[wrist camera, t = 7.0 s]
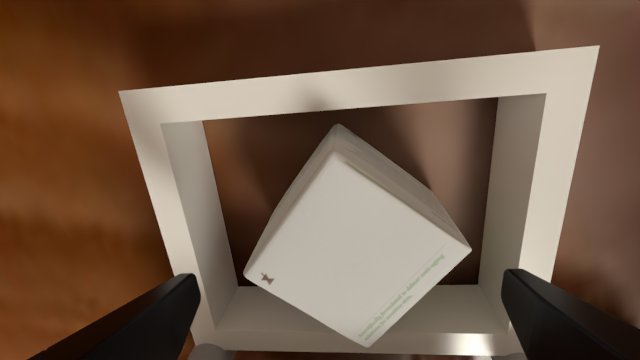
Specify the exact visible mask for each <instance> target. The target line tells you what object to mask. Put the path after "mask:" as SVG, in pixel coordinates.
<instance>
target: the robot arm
mask: <svg viewBox="0 0 640 360" xmlns="http://www.w3.org/2000/svg"><path fill="white" fill-rule="evenodd" d="M501 300H502V303H503V305H504V308H505V310H506V312H507V314H508V317H509V319H510V321H511V324H512V326H513V328H514V331H515V333H516V335H517V338H518V340H519V342H520V344H521V347H522V349H523V351H524V353H525V355H526V358H527V360H640V329H638V328H636V327H634V326H632V325H630V324H629V323H627V322H625V321H623V320H621V319H619V318H617V317H615V316H613V315H611V314H609V313H607V312H605V311H603V310H601V309H600V308H598V307H596V306H594V305H592V304H590V303H588V302H586V301H584V300H582V299H580V298H578V297H576V296H574V295H572V294H571V293H569V292H567V291H565V290H563V289H561V288H559V287H557V286H555V285H553V284H551V283H549V282H547V281H545V280H543V279H541V278H540V277H538V276H536V275H534V274H532V273H530V272H528V271H526V270H524V269H520V268H517V269H506V270H505V271H504V274H503V280H502V287H501ZM200 301H201V293H200V289H199V286H198V282H197V278H196V276H195V274H193V273H181V274H178V275H177V276H175V277H173V278H171V279H169V280H168V281H166V282H164V283H162V284H161V285H159V286H157V287H155V288H153V289H152V290H150V291H148V292H146V293H145V294H143V295H141V296H139V297H138V298H136V299H134V300H132V301H130V302H129V303H127V304H125V305H123V306H122V307H120V308H118V309H116V310H114V311H113V312H111V313H109V314H107V315H106V316H104V317H102V318H100V319H98V320H97V321H95V322H93V323H91V324H90V325H88V326H86V327H84V328H82V329H81V330H79V331H77V332H75V333H74V334H72V335H70V336H68V337H67V338H65V339H63V340H61V341H59V342H58V343H56V344H54V345H52V346H51V347H49V348H48V349H47V350H43V351H41V352H40V353H38V354H36V355H34V356H33V357H31V358H29V359H27V360H177V359H178V357H179V355H180V352H181V350H182V348H183V346H184V343H185V341H186V338H187V335H188V333H189V330H190V328H191V325H192V323H193V320H194V317H195V315H196V312H197V310H198V307H199V305H200Z"/></svg>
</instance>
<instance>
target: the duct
mask: <svg viewBox="0 0 640 360" xmlns="http://www.w3.org/2000/svg"><path fill="white" fill-rule="evenodd" d="M599 47H600V45H598V46H588V47H577V48H567V49H556V50H546V51H535V52H525V53H514V54H504V55H493V56H483V57H472V58H462V59H451V60H441V61H430V62H420V63H409V64H399V65H388V66H378V67H367V68H357V69H346V70H336V71H325V72H315V73H304V74H294V75H283V76H273V77H262V78H252V79H241V80H231V81H220V82H210V83H199V84H189V85H178V86H168V87H157V88H147V89H136V90H126V91H118V92H119V95H120V99H121V102H122V105H123V109H124V112H125V115H126V118H127V122H128V125H129V128H130V132H131V135H132V138H133V142H134V145H135V148H136V151H137V155H138V158H139V161H140V165H141V168H142V171H143V174H144V178H145V181H146V184H147V188H148V191H149V194H150V198H151V201H152V204H153V207H154V211H155V214H156V217H157V221H158V224H159V227H160V230H161V234H162V237H163V240H164V244H165V247H166V250H167V254H168V257H169V260H170V263H171V267H172V270H173V273H174V277H175V276H177V275H178V274H181V273H193V274H195V276H196V278H197V282H198V286H199V289H200V293H201V301H200V305H199V307H198V310H197V312H196V315H195V317H194V320H193V323H192V325H191V328H190V329H191V333H192V336H193V339H194V343H195V346H194V348H193V350H192V352H191V353H190V355H189V357H188V359H187V360H233V359H234V357H235V354H236V352H237V350H242V351H290V352H339V353H387V354H436V355H484V356H491V358H492V360H527V358H526V355H525V353H524V351H523V349H522V347H521V344H520V342H519V340H518V338H517V335H516V333H515V331H514V328H513V326H512V324H511V321H510V319H509V317H508V314H507V312H506V310H505V308H504V305H503V303H502V300H501V287H502V280H503V274H504V271H505V270H506V269H517V268H520V269H524V270H526V271H528V272H530V273H532V274H534V275H536V276H538V277H540V278H541V279H543V280H545V281H547V282H549V283H550V281H551V277H552V272H553V267H554V262H555V257H556V253H557V248H558V243H559V238H560V234H561V229H562V224H563V219H564V214H565V210H566V205H567V200H568V195H569V190H570V186H571V181H572V176H573V171H574V166H575V162H576V157H577V152H578V147H579V143H580V138H581V133H582V128H583V123H584V119H585V114H586V109H587V104H588V99H589V95H590V90H591V85H592V80H593V75H594V71H595V66H596V61H597V56H598V52H599ZM490 97H498V106H497V115H496V124H495V133H494V142H493V152H492V161H491V170H490V179H489V188H488V197H487V206H486V215H485V224H484V233H483V243H482V252H481V261H480V270H479V279H478V285H435V286H433V288H432V289H431V290H429V291H428V292H427V293H426V294H425V295H424V296H423V297H422V298H421V299H420V300H419V301H418V302H417V303H416V304H415V305H413V306H412V307H411V308H410V309H409V310H408V311H407V312H406V313H405V314H404V315H403V316H402V317H401V318H400V319H399V320H398V321H397V322H396V323H395V324H393V325H392V326H391V327H390V328H389V329H388V330H387V331H386V332H385V333H384V334H383V335H382V336H381V337H380V338H379V339H377V340H376V341H375V342H374V343H373V344H372V345H371V346H370V347H369V348H366V347H364V346H362V345H360V344H358V343H356V342H355V341H353V340H351V339H349V338H347V337H345V336H344V335H342V334H340V333H338V332H337V331H335V330H333V329H332V328H330V327H328V326H327V325H325V324H323V323H322V322H320V321H319V320H317V319H315V318H313V317H312V316H310V315H308V314H307V313H305V312H303V311H302V310H300V309H298V308H297V307H295V306H293V305H291V304H290V303H288V302H286V301H284V300H283V299H281V298H279V297H277V296H276V295H274V294H272V293H270V292H269V291H267V290H265V289H264V288H262V287H260V286H238V282H237V278H236V273H235V268H234V264H233V259H232V255H231V250H230V246H229V241H228V236H227V232H226V227H225V223H224V218H223V214H222V209H221V205H220V200H219V195H218V191H217V186H216V182H215V177H214V173H213V168H212V164H211V159H210V154H209V150H208V145H207V141H206V136H205V132H204V127H203V123H202V120H212V119H224V118H237V117H250V116H262V115H275V114H288V113H300V112H313V111H325V110H338V109H351V108H363V107H376V106H389V105H401V104H414V103H427V102H439V101H452V100H464V99H477V98H490Z"/></svg>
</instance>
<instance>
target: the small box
mask: <svg viewBox="0 0 640 360" xmlns="http://www.w3.org/2000/svg"><path fill="white" fill-rule="evenodd" d="M471 251H472V248H471V247H470V245H469V244H468V242H467V241H466V239H465V238H464V236H463V235H462V233H461V232H460V230H459V229H458V227H457V226H456V225H455V223H454V222H453V220H452V219H451V217H450V216H449V215H448V213H447V212H446V210H445V209H444V207H443V206H442V205H441V203H440V202H439V200H438V199H437V197H436V196H435V194H434V193H433V192H432V191H431V190H430V189H428V188H427V187H426V186H424V185H423V184H422V183H421V182H419V181H418V180H417V179H415V178H414V177H413V176H411V175H410V174H409V173H407V172H406V171H404V170H403V169H402V168H400V167H399V166H398V165H396V164H395V163H394V162H392V161H391V160H390V159H388V158H387V157H386V156H384V155H383V154H382V153H380V152H379V151H377V150H376V149H375V148H373V147H372V146H371V145H369V144H368V143H367V142H365V141H364V140H363V139H361V138H360V137H358V136H357V135H355V134H354V133H353V132H351V131H350V130H348V129H347V128H346V127H344V126H343V125H341V124H335V125H334V126H333V127H332V128H331V129H330V131H329V132H328V133H327V134H326V136H325V137H324V139H323V140H322V141H321V143H320V144H319V145H318V147H317V148H316V150H315V151H314V152H313V154H312V155H311V157H310V158H309V159H308V161H307V162H306V164H305V165H304V167H303V168H302V169H301V171H300V172H299V174H298V175H297V177H296V178H295V180H294V181H293V183H292V184H291V186H290V187H289V189H288V190H287V192H286V193H285V195H284V196H283V198H282V199H281V201H280V202H279V204H278V205H277V207H276V208H275V210H274V212H273V214H272V216H271V218H270V220H269V222H268V224H267V226H266V227H265V229H264V231H263V233H262V235H261V237H260V239H259V241H258V243H257V245H256V247H255V249H254V251H253V253H252V255H251V257H250V259H249V261H248V263H247V265H246V267H245V269H244V272H243V275H244V276H245V277H246V278H247V279H248V280H250V281H252V282H253V283H255V284H257V285H258V286H260V287H262V288H264V289H265V290H267V291H269V292H270V293H272V294H274V295H276V296H277V297H279V298H281V299H283V300H284V301H286V302H288V303H290V304H291V305H293V306H295V307H297V308H298V309H300V310H302V311H303V312H305V313H307V314H308V315H310V316H312V317H313V318H315V319H317V320H319V321H320V322H322V323H323V324H325V325H327V326H328V327H330V328H332V329H333V330H335V331H337V332H338V333H340V334H342V335H344V336H345V337H347V338H349V339H351V340H353V341H355V342H356V343H358V344H360V345H362V346H364V347H366V348H369V347H370V346H371V345H372V344H373V343H374V342H375V341H376V340H377V339H379V338H380V337H381V336H382V335H383V334H384V333H385V332H386V331H387V330H388V329H389V328H390V327H391V326H392V325H393V324H395V323H396V322H397V321H398V320H399V319H400V318H401V317H402V316H403V315H404V314H405V313H406V312H407V311H408V310H409V309H410V308H411V307H412V306H413V305H415V304H416V303H417V302H418V301H419V300H420V299H421V298H422V297H423V296H424V295H425V294H426V293H427V292H428V291H429V290H431V289H432V288H433V286H435V285H436V284H437V283H438V282H439V281H440V280H441V279H442V278H443V277H444V276H445V275H446V274H447V273H449V272H450V271H451V270H452V269H453V268H454V267H455V266H456V265H457V264H458V263H459V262H460V261H461V260H462V259H463V258H465V257H466V256H467V255H468V254H469V253H470V252H471Z"/></svg>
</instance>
